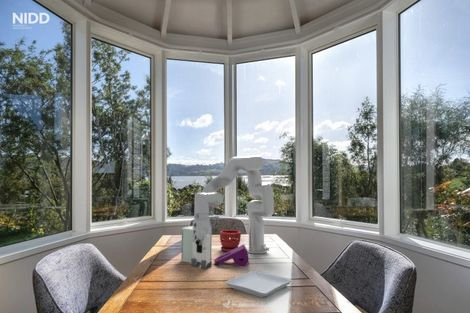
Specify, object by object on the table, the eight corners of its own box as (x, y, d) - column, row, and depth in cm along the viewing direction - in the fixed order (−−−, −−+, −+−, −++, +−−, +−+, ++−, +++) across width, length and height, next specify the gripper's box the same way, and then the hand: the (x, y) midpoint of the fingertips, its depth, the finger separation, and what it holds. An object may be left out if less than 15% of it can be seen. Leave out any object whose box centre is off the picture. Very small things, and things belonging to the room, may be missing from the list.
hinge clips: (211, 266, 163) (211, 258, 163) (204, 269, 159) (204, 261, 159) (198, 263, 169) (198, 256, 169) (191, 266, 164) (191, 258, 164)
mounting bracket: (220, 277, 164) (251, 262, 164) (213, 263, 164) (244, 248, 164) (221, 272, 173) (250, 258, 173) (214, 258, 174) (244, 244, 174)
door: (209, 262, 162) (210, 235, 163) (205, 264, 159) (205, 236, 160) (195, 259, 168) (195, 233, 168) (191, 260, 165) (191, 234, 166)
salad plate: (253, 276, 148) (253, 269, 149) (293, 287, 135) (292, 279, 135) (223, 289, 132) (223, 281, 132) (265, 302, 119) (265, 293, 119)
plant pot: (240, 253, 191) (240, 233, 192) (219, 252, 192) (219, 233, 192) (240, 247, 204) (240, 229, 205) (220, 247, 205) (220, 229, 205)
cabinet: (211, 258, 180) (211, 226, 181) (194, 263, 168) (195, 230, 169) (198, 255, 186) (198, 224, 187) (181, 260, 174) (181, 228, 175)
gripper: (196, 218, 156) (196, 256, 155) (216, 215, 169) (216, 250, 168) (185, 217, 161) (185, 254, 160) (206, 214, 174) (205, 248, 173)
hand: (201, 251), depth 164 cm, fingers closed on door, 2 cm apart
